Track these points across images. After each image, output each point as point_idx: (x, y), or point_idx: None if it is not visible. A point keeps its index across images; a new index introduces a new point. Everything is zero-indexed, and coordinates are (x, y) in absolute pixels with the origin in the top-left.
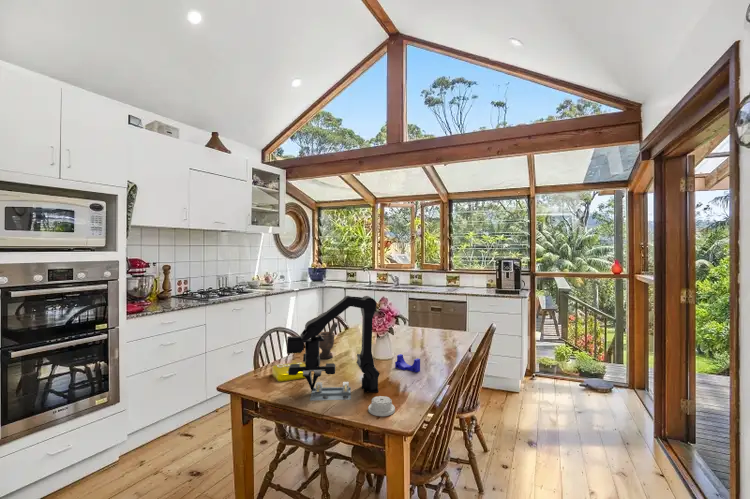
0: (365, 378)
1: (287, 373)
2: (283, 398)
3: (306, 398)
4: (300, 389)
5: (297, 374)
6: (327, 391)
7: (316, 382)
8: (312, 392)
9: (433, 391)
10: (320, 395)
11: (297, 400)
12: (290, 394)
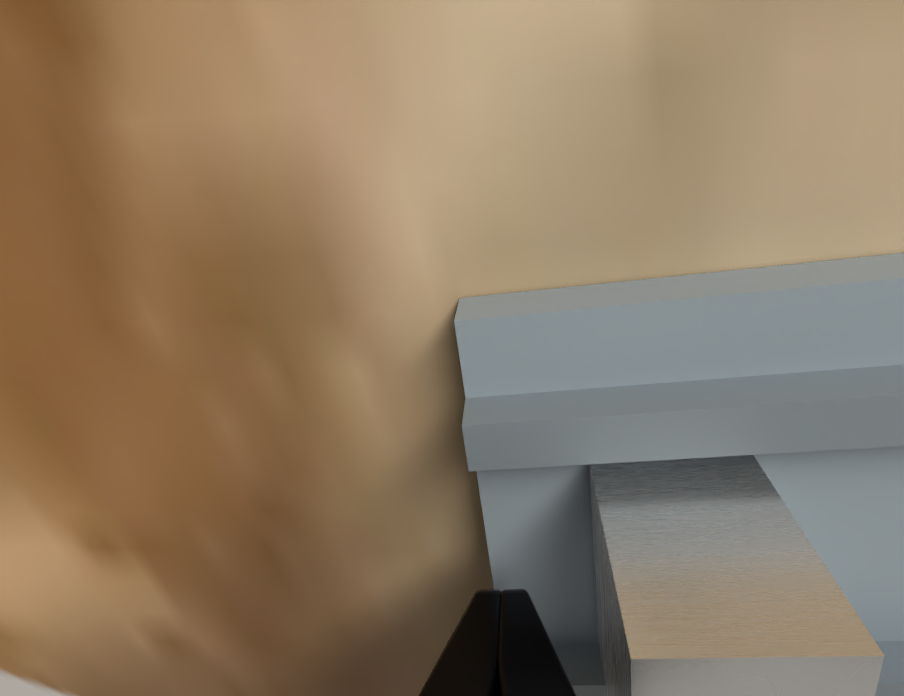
0: None
1: None
2: (47, 619)
3: (427, 627)
4: (121, 218)
5: None
6: (892, 494)
7: (634, 684)
8: (506, 542)
9: None
10: None
11: (302, 680)
12: (62, 483)
